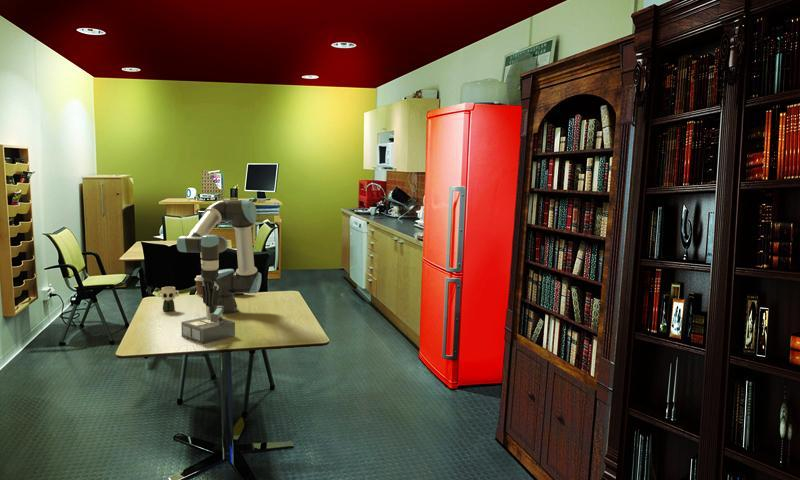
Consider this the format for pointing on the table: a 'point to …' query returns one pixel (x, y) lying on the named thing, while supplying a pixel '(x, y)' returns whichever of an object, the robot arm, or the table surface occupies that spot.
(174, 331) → the table surface
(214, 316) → the cable arm
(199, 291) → the coffee cup
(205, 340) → the box
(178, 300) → the table surface
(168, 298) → the big eared figurine
